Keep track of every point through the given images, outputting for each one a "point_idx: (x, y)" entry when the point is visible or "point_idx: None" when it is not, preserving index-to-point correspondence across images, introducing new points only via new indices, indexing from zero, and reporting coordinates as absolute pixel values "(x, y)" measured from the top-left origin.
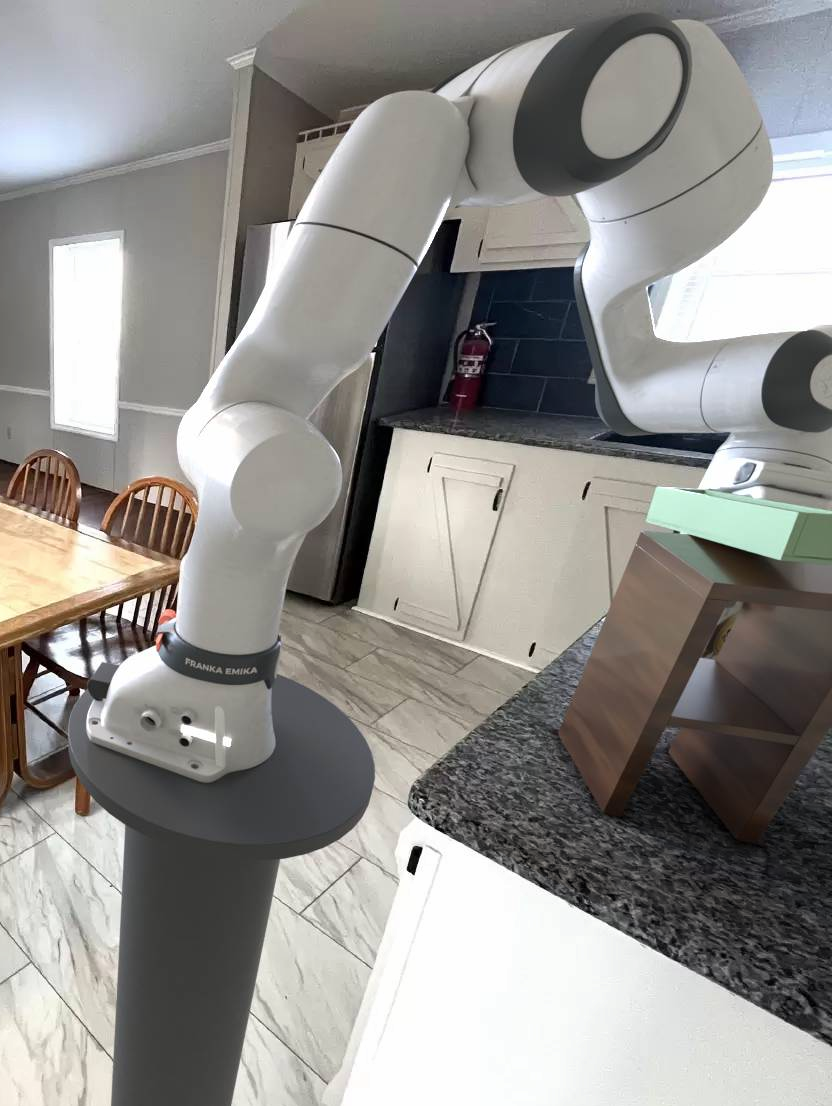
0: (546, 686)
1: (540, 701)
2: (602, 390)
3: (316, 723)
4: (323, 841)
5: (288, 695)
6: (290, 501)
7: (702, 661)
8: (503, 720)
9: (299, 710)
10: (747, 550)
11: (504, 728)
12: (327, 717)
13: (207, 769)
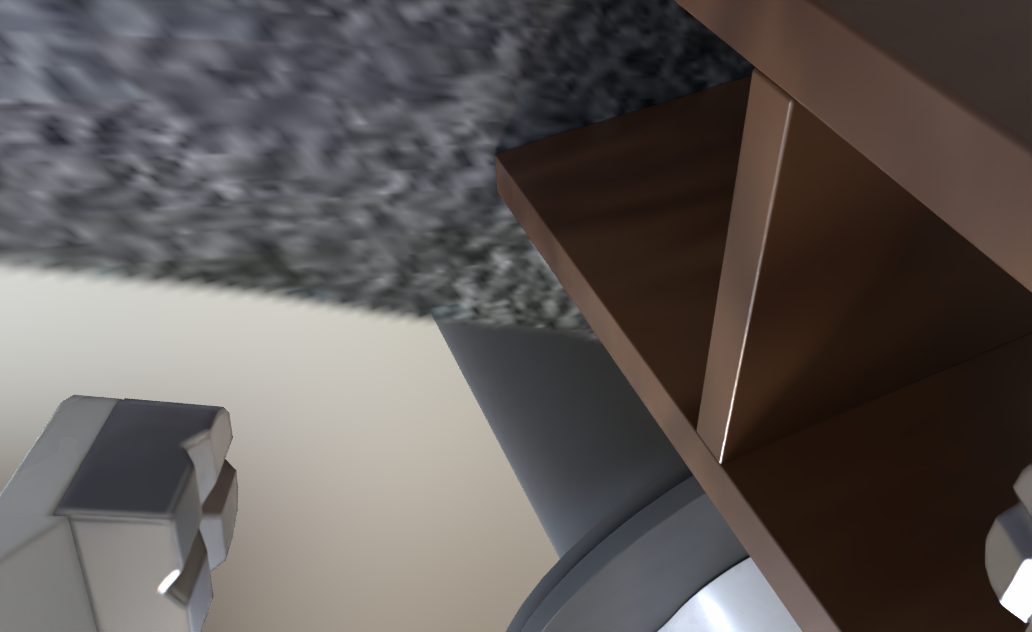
0: (90, 259)
1: (268, 258)
2: None
3: (690, 545)
4: None
5: (603, 611)
6: None
7: (826, 164)
8: (481, 317)
9: (653, 578)
10: None
11: (528, 306)
12: (665, 546)
13: None
